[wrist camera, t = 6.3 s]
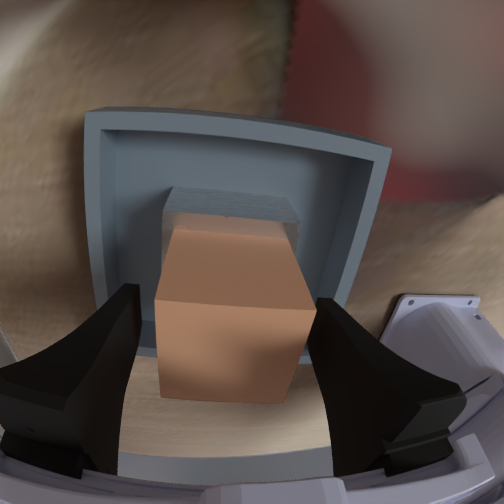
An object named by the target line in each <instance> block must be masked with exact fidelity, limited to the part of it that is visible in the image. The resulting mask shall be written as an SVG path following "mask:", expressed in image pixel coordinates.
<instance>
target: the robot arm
mask: <svg viewBox="0 0 504 504" xmlns="http://www.w3.org/2000/svg"><path fill="white" fill-rule="evenodd" d="M410 300H411V301H410ZM409 301H410V302H409ZM479 303H480V297H479V296H464V295H412V294H406V295H403V296H401V297H400V299H399V300H398V303H397V305H396V307H395V309H394V311H393V314H392V316H391V318H390V320H389V322H388V324H387V326H386V328H385V330H384V332H383V335H382V337H381V339H380V341H378V340H377V339H376V338H375V337H373V336H372V335H371V334H370V333H369V332H368V331H366V330H365V329H364V328H363V327H362V326H361V325H360V324H359V323H358V322H357V321H356V320H354V319H353V318H352V317H351V316H350V315H349V314H348V313H347V312H346V311H345V310H344V309H343V308H342V307H341V306H340V305H339V304H338V303H337V302H335V301H334V300H333V299H332V298H322V297H318V298H317V301H316V304H315V307H316V309H317V312H316V315H315V318H314V321H313V324H312V326H311V329H310V332H309V335H308V338H307V344H308V350H309V355H310V358H311V362H312V365H313V368H314V371H315V374H316V377H317V380H318V384H319V387H320V390H321V393H322V396H323V400H324V404H325V408H326V414H327V419H328V425H329V432H330V439H331V447H332V457H333V473H334V477H333V476H327V477H314V478H305V479H295V480H284V481H269V482H243V483H242V482H240V483H227V484H219V485H216V486H209V485H207V486H206V485H189V484H174V483H164V482H155V481H147V480H139V479H133V478H127V477H121V476H117V467H118V465H117V464H118V448H119V435H120V425H121V416H122V409H123V402H124V396H125V391H126V387H127V384H128V380H129V377H130V373H131V370H132V366H133V363H134V359H135V356H136V352H137V349H138V346H139V340H140V334H141V328H142V314H141V299H140V284H131V283H124V284H123V285H122V286H121V287H120V288H119V289H118V290H117V291H116V292H115V293H114V294H113V295H112V296H111V297H110V298H109V299H108V300H107V301H106V302H105V303H104V304H103V305H102V306H101V307H100V308H99V309H98V310H97V311H96V312H95V313H94V314H93V315H92V316H91V317H89V318H88V319H87V320H86V321H85V322H84V323H83V324H82V325H80V326H79V327H78V328H77V329H75V330H74V331H73V332H71V333H70V334H68V335H67V336H66V337H64V338H63V339H61V340H59V341H58V342H56V343H54V344H53V345H51V346H50V347H48V348H46V349H44V350H43V351H41V352H39V353H37V354H35V355H33V356H30V357H28V358H26V359H24V360H21V361H19V362H16V363H14V364H11V365H8V366H5V367H2V368H0V424H1V426H2V427H3V428H4V429H5V432H4V434H3V437H1V436H0V504H504V339H503V338H502V337H501V336H500V334H499V333H498V332H497V331H496V330H495V328H494V327H493V326H492V325H491V324H490V322H489V321H488V320H487V319H486V318H485V317H484V315H483V314H482V313H481V312H480V311H479V310H478V308H477V307H478V305H479Z"/></svg>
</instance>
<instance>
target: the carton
mask: <svg viewBox="0 0 504 504" xmlns="http://www.w3.org/2000/svg"><path fill="white" fill-rule="evenodd" d="M316 312H317V309H316V307H315V304H314V302H313V299H312V297H311V294H310V292H309V289H308V287H307V284H306V282H305V280H304V277H303V275H302V272H301V270H300V267H299V265H298V262H297V260H296V258H295V255H294V253H293V250H292V248H291V246H290V243H289V241H288V239H279V238H269V237H258V236H248V235H237V234H226V233H215V232H204V231H193V230H181V229H174V230H173V234H172V237H171V240H170V244H169V247H168V251H167V254H166V258H165V262H164V265H163V269H162V273H161V276H160V280H159V284H158V288H157V292H156V296H155V325H156V343H157V358H158V371H159V383H160V394H161V398H171V399H183V400H196V401H214V402H245V403H277V402H284V400H285V398H286V395H287V393H288V390H289V387H290V385H291V382H292V379H293V377H294V374H295V371H296V369H297V366H298V363H299V361H300V358H301V355H302V352H303V349H304V347H305V344H306V341H307V338H308V335H309V332H310V329H311V326H312V324H313V321H314V318H315V315H316Z"/></svg>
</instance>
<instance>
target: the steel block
mask: <svg viewBox="0 0 504 504" xmlns="http://www.w3.org/2000/svg"><path fill="white" fill-rule="evenodd" d="M301 226H302V223H301V221H300V220H299V218H298V216H297V214H296V213H295V211H294V209H293V207H292V206H291V204H290V202H289V200H288V199H287V198H286V197H278V196H270V195H261V194H252V193H243V192H233V191H223V190H213V189H202V188H190V187H178V186H173V188H172V191H171V193H170V195H169V197H168V200H167V202H166V204H165V206H164V209H163V214H162V257H161V273H162V269H163V265H164V262H165V258H166V254H167V251H168V247H169V244H170V240H171V237H172V234H173V230H174V229H181V230H193V231H204V232H215V233H226V234H237V235H248V236H258V237H269V238H279V239H288V241H289V243H290V246H291V248H292V250H293V253H294V255H295V252H296V248H297V243H298V239H299V235H300V230H301Z"/></svg>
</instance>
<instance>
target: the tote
mask: <svg viewBox="0 0 504 504" xmlns="http://www.w3.org/2000/svg"><path fill="white" fill-rule="evenodd" d="M391 152H392V148H390V147H387V146H385V145H383V144H380V143H378V142H376V141H373V140H371V139H369V138H366V137H362V136H357V135H353V134H349V133H344V132H340V131H335V130H330V129H325V128H321V127H315V126H310V125H305V124H299V123H294V122H288V121H282V120H276V119H269V118H262V117H255V116H247V115H239V114H231V113H222V112H212V111H201V110H188V109H172V108H151V107H104V108H100V109H95V110H91V111H87V112H85V124H84V192H85V212H86V226H87V238H88V249H89V258H90V267H91V274H92V282H93V289H94V295H95V302H96V308H97V310H98V309H99V308H100V307H101V306H102V305H103V304H104V303H105V302H106V301H107V300H108V299H109V298H110V297H111V296H112V295H113V294H114V293H115V292H116V291H117V290H118V289H119V288H120V287H121V286H122V285H123V284H124V283H131V284H140V299H141V314H142V328H141V334H140V340H139V346H138V349H137V352H136V355H139V356H148V357H157V343H156V325H155V296H156V292H157V288H158V284H159V280H160V276H161V257H162V214H163V209H164V206H165V204H166V202H167V200H168V197H169V195H170V193H171V191H172V188H173V186H178V187H190V188H202V189H213V190H223V191H233V192H243V193H252V194H261V195H270V196H278V197H286V198H287V199H288V200H289V202H290V204H291V206H292V207H293V209H294V211H295V213H296V214H297V216H298V218H299V220H300V221H301V223H302V226H301V230H300V235H299V239H298V243H297V248H296V252H295V258H296V260H297V262H298V265H299V267H300V270H301V272H302V275H303V277H304V280H305V282H306V284H307V287H308V289H309V292H310V294H311V297H312V299H313V302H314V304H316V301H317V298H318V297H322V298H332V299H333V300H334V301H335V302H337V303H338V304H339V305H340V306H341V307H342V308H343V309H344V306H345V303H346V301H347V298H348V295H349V292H350V290H351V287H352V284H353V281H354V278H355V275H356V272H357V270H358V267H359V264H360V261H361V258H362V255H363V251H364V248H365V245H366V242H367V239H368V236H369V232H370V229H371V226H372V223H373V219H374V216H375V212H376V209H377V206H378V202H379V198H380V195H381V191H382V187H383V184H384V179H385V176H386V172H387V168H388V164H389V160H390V156H391ZM298 364H312V362H311V358H310V355H309V350H308V344H307V341H306V344H305V347H304V349H303V352H302V355H301V358H300V361H299V363H298Z"/></svg>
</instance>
